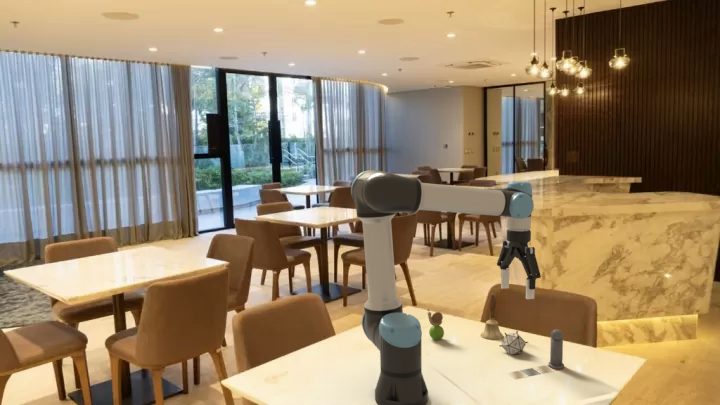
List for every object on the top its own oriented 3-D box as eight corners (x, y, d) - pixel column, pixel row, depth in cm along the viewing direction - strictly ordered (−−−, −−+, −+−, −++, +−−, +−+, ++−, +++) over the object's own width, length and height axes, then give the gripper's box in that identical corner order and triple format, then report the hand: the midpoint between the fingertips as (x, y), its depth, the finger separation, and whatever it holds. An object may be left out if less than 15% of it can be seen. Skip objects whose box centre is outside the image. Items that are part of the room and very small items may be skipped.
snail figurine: (424, 338, 200) (423, 307, 199) (438, 335, 203) (438, 304, 202) (432, 343, 196) (431, 311, 194) (447, 340, 198) (446, 308, 197)
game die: (518, 367, 182) (530, 351, 176) (494, 357, 183) (505, 341, 177) (521, 346, 189) (532, 330, 182) (498, 337, 190) (508, 321, 183)
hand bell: (501, 332, 205) (502, 291, 204) (504, 340, 197) (504, 297, 196) (479, 331, 207) (479, 291, 205) (481, 339, 198) (481, 297, 197)
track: (515, 384, 161) (515, 381, 161) (501, 375, 168) (501, 372, 168) (572, 372, 168) (572, 369, 168) (556, 364, 175) (556, 361, 175)
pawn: (555, 370, 168) (556, 333, 166) (545, 364, 172) (546, 328, 171) (567, 368, 169) (568, 330, 168) (557, 362, 174) (557, 326, 172)
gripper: (554, 234, 164) (551, 302, 166) (506, 223, 188) (504, 283, 190) (533, 235, 162) (531, 304, 164) (487, 224, 185) (486, 285, 187)
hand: (517, 293), depth 177 cm, fingers open, 13 cm apart
